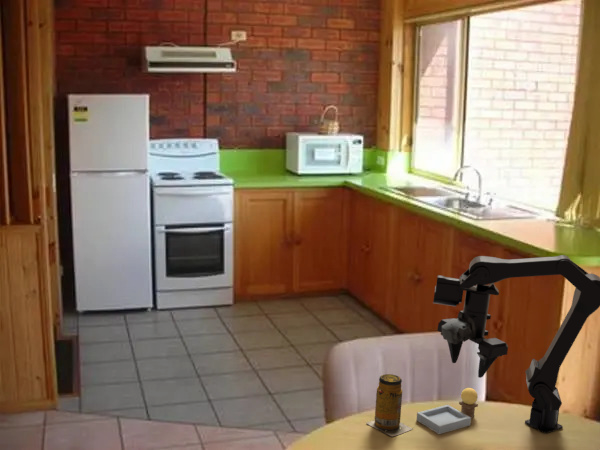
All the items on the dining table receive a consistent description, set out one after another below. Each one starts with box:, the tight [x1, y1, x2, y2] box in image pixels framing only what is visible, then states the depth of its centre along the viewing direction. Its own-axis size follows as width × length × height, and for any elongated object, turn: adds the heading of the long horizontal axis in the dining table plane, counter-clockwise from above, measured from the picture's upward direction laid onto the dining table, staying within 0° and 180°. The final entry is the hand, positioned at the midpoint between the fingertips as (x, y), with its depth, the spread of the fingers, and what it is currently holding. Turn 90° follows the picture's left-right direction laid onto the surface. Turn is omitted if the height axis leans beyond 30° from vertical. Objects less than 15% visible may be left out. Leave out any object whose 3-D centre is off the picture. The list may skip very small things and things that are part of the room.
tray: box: [416, 404, 472, 435], centre depth 179 cm, size 10×8×2 cm
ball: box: [460, 387, 478, 405], centre depth 183 cm, size 4×4×4 cm
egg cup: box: [458, 400, 479, 419], centre depth 184 cm, size 3×3×3 cm
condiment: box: [366, 373, 413, 437], centre depth 175 cm, size 7×8×12 cm
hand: (466, 369), depth 181 cm, fingers open, 9 cm apart
